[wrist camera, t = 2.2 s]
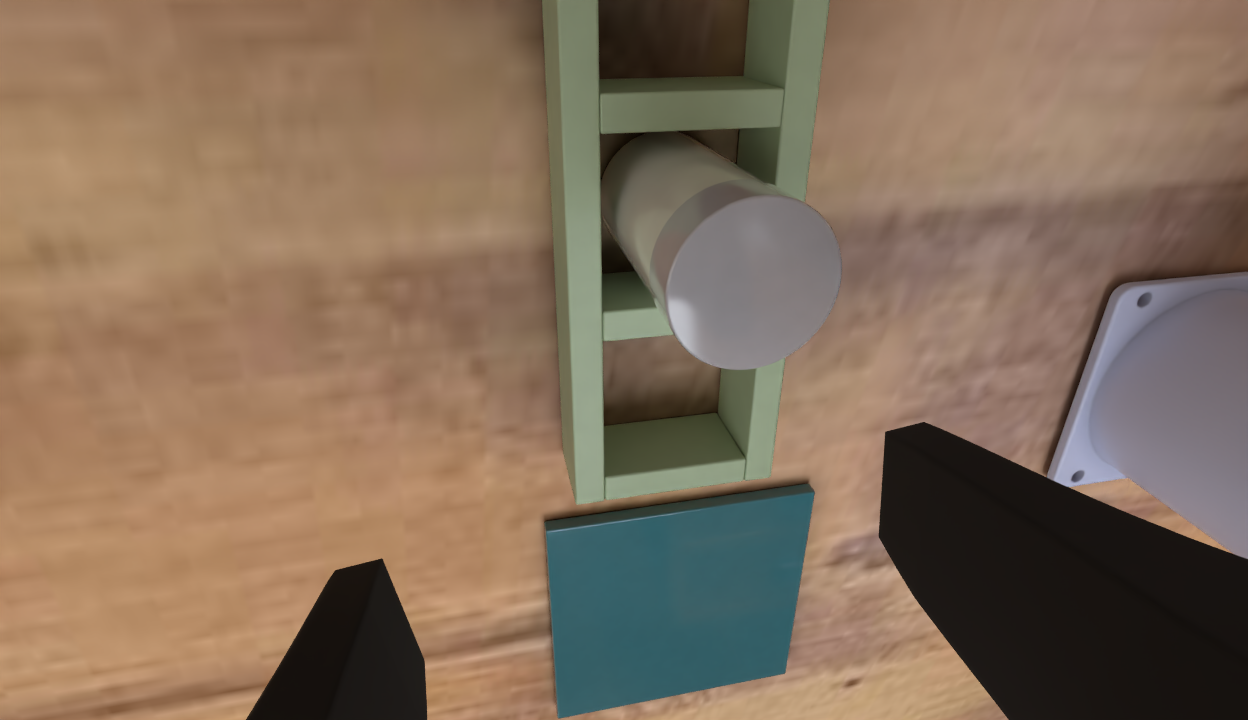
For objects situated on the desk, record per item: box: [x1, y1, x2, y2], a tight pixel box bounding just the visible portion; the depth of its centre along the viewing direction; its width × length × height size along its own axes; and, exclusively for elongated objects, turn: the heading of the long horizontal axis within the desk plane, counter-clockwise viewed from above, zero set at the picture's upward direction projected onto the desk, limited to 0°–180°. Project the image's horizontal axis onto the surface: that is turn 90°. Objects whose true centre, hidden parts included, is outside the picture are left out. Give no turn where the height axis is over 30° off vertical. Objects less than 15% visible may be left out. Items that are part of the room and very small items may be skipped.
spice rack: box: [542, 0, 830, 504], centre depth 17 cm, size 6×15×2 cm, turn 0°
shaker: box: [601, 131, 842, 370], centre depth 15 cm, size 3×3×6 cm
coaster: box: [544, 484, 815, 719], centre depth 25 cm, size 9×9×1 cm
